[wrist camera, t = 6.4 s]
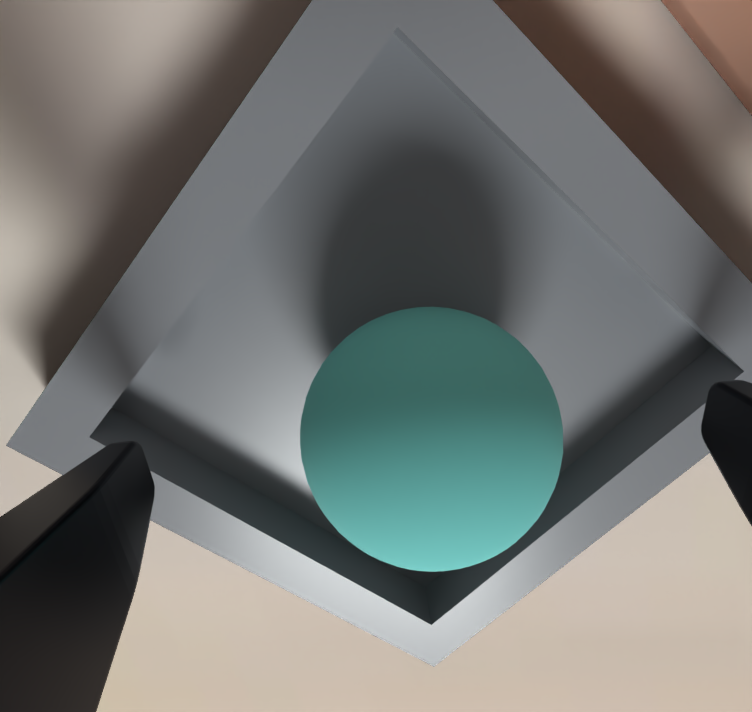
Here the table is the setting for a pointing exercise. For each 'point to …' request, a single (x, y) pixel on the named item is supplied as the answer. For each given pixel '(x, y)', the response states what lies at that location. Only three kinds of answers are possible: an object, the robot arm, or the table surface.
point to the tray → (401, 303)
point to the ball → (431, 439)
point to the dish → (721, 38)
